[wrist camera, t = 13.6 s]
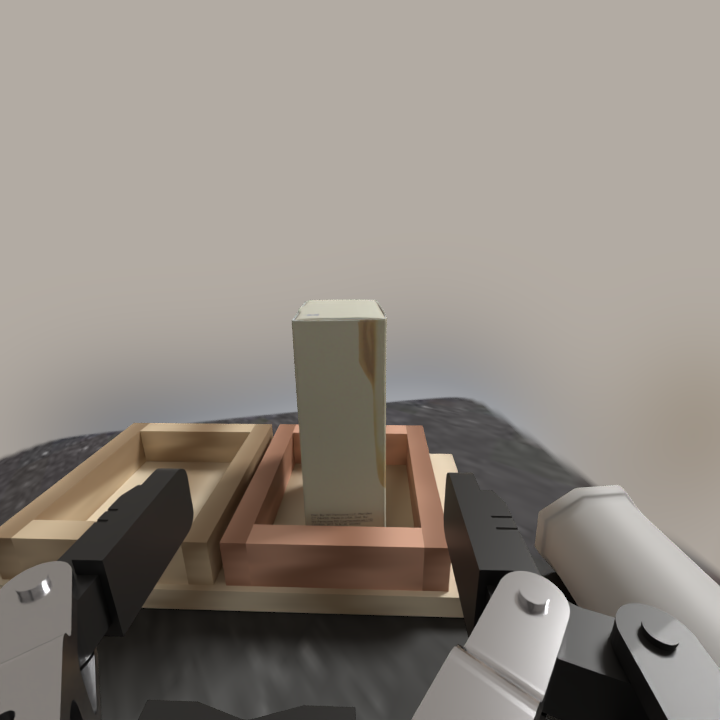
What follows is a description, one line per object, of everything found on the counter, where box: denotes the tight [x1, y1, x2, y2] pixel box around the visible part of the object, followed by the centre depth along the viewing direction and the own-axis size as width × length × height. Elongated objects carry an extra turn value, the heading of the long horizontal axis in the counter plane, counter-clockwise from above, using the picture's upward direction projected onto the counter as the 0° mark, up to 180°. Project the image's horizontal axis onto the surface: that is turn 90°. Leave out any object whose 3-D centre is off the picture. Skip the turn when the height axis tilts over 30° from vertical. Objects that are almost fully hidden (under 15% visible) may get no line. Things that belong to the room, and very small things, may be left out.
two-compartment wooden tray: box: [0, 423, 464, 618], centre depth 23 cm, size 26×12×4 cm, turn 88°
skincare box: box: [292, 300, 387, 527], centre depth 21 cm, size 6×4×12 cm
